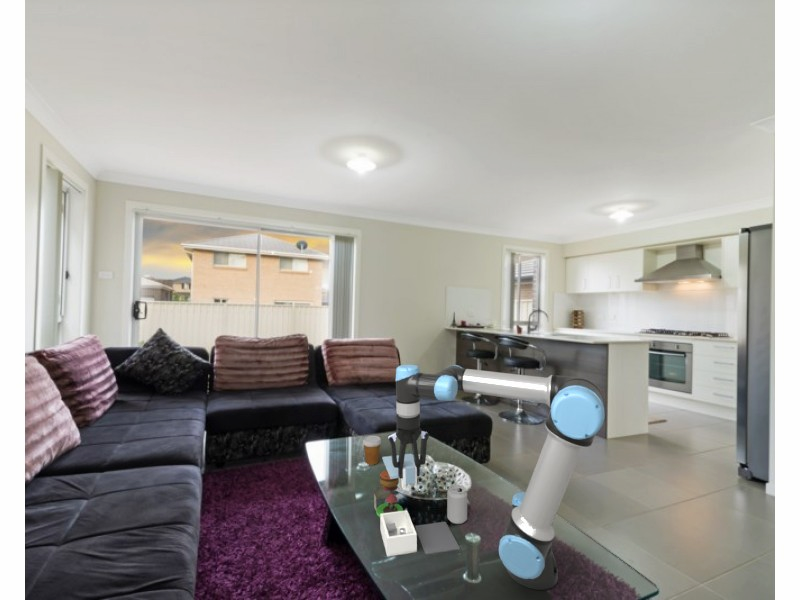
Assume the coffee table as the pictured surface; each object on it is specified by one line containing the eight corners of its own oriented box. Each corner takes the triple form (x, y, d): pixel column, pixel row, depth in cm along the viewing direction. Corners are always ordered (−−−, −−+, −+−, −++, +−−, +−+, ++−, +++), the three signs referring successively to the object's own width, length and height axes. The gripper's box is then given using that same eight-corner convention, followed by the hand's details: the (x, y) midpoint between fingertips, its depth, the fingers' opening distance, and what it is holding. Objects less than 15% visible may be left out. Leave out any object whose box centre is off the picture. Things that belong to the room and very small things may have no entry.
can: (466, 526, 139) (466, 494, 139) (446, 524, 141) (446, 492, 140) (467, 514, 147) (467, 484, 146) (448, 512, 148) (448, 482, 148)
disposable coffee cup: (360, 459, 194) (360, 436, 194) (378, 457, 197) (378, 434, 197) (364, 468, 185) (364, 443, 185) (383, 465, 188) (383, 441, 188)
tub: (416, 551, 126) (416, 534, 126) (387, 556, 124) (387, 538, 124) (407, 526, 140) (407, 510, 139) (380, 530, 137) (380, 513, 137)
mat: (460, 549, 127) (460, 548, 127) (425, 554, 124) (425, 553, 124) (445, 522, 142) (445, 521, 142) (414, 527, 139) (414, 525, 139)
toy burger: (408, 504, 154) (408, 467, 153) (399, 522, 142) (399, 483, 141) (380, 500, 157) (380, 464, 157) (370, 517, 145) (369, 479, 144)
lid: (427, 481, 121) (427, 465, 120) (393, 485, 118) (393, 470, 118) (411, 455, 140) (411, 442, 139) (382, 459, 137) (382, 445, 137)
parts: (409, 546, 128) (409, 537, 128) (391, 549, 126) (391, 540, 126) (402, 528, 137) (402, 520, 137) (386, 530, 136) (386, 522, 136)
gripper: (428, 408, 126) (429, 478, 127) (381, 412, 123) (382, 484, 123) (435, 415, 119) (436, 489, 119) (385, 420, 115) (386, 496, 116)
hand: (409, 486), depth 121 cm, fingers closed on lid, 3 cm apart
